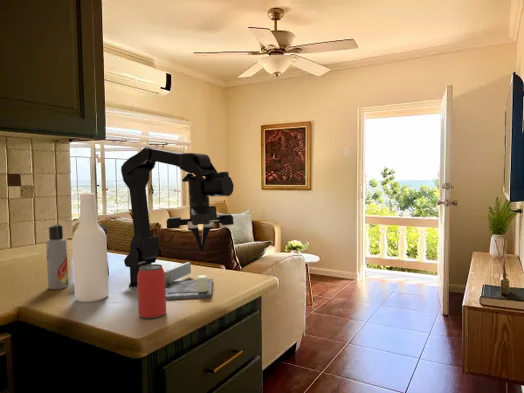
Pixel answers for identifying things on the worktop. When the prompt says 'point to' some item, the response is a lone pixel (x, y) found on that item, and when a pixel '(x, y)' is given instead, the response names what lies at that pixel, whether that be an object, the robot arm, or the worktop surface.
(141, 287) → the beer can
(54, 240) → the lotion bottle
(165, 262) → the worktop surface
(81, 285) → the alcohol
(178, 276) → the door
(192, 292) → the console
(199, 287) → the fader knob
